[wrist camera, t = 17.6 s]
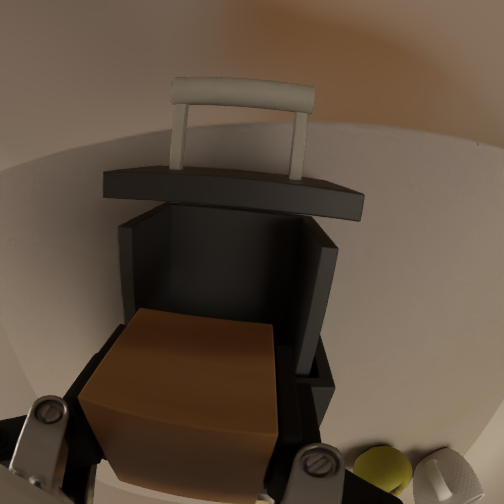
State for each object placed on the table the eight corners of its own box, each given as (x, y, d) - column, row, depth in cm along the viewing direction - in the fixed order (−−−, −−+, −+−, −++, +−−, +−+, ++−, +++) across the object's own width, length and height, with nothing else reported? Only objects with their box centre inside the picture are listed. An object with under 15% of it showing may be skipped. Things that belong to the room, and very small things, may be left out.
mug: (389, 462, 31) (409, 528, 18) (451, 424, 28) (483, 486, 16) (413, 479, 34) (429, 530, 22) (462, 449, 32) (485, 497, 19)
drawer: (165, 96, 17) (113, 66, 10) (333, 109, 17) (376, 82, 10) (160, 333, 23) (126, 397, 15) (296, 349, 23) (307, 420, 15)
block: (139, 306, 9) (76, 396, 5) (272, 323, 9) (279, 435, 5) (151, 396, 11) (118, 480, 6) (257, 411, 11) (255, 505, 6)
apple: (350, 479, 31) (360, 525, 21) (346, 446, 31) (359, 494, 21) (399, 464, 30) (419, 505, 20) (400, 428, 30) (425, 471, 20)
